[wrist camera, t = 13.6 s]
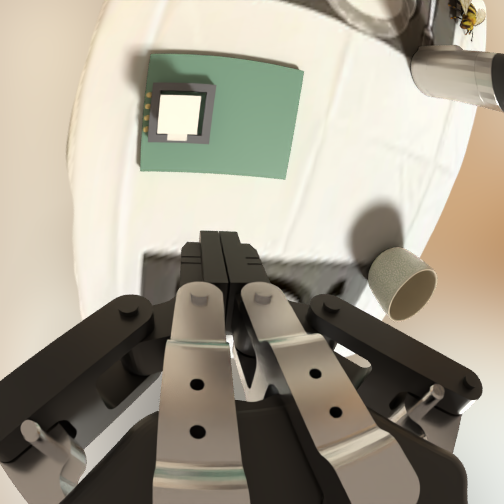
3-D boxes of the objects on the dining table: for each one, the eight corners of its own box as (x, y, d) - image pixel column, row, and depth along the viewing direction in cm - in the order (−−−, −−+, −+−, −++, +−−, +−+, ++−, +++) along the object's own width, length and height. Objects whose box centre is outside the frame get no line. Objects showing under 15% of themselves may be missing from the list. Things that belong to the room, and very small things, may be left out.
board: (152, 55, 26) (148, 51, 23) (300, 72, 31) (309, 69, 28) (141, 169, 34) (137, 175, 31) (282, 177, 38) (289, 183, 36)
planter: (414, 241, 50) (446, 268, 41) (392, 288, 56) (418, 318, 47) (373, 236, 47) (407, 268, 38) (351, 289, 53) (377, 325, 44)
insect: (437, 15, 25) (455, 13, 21) (445, -19, 19) (461, -22, 15) (467, 51, 29) (484, 52, 25) (474, 14, 23) (489, 14, 19)
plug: (168, 97, 28) (160, 94, 22) (200, 98, 29) (201, 96, 23) (165, 133, 31) (156, 141, 24) (196, 134, 32) (196, 142, 25)
